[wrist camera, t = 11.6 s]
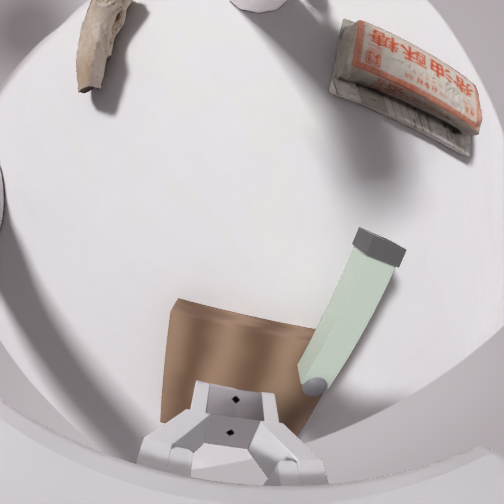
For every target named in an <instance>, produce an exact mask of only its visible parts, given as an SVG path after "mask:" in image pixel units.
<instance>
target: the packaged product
mask: <svg viewBox="0 0 504 504" xmlns="http://www.w3.org/2000/svg"><path fill="white" fill-rule="evenodd" d="M329 93H330V94H332V95H335V96H338V97H341V98H344V99H347V100H350V101H353V102H356V103H358V104H361V105H363V106H365V107H367V108H369V109H372V110H374V111H376V112H378V113H380V114H382V115H384V116H387V117H389V118H391V119H393V120H396V121H398V122H400V123H402V124H404V125H406V126H408V127H410V128H412V129H414V130H416V131H418V132H420V133H422V134H423V135H425V136H427V137H429V138H431V139H433V140H435V141H437V142H439V143H441V144H443V145H445V146H447V147H449V148H450V149H452V150H454V151H456V152H458V153H459V154H462V155H465V156H469V157H470V150H471V138H472V135H478V134H479V130H480V125H481V122H482V111H481V109H480V102H479V97H478V96H479V94H478V91H477V88H476V86H475V85H474V84H473V83H472V82H471V81H469V80H468V79H467V78H466V77H464V76H463V75H462V74H460V73H459V72H457V71H456V70H454V69H453V68H452V67H450V66H449V65H447V64H445V63H444V62H442V61H441V60H439V59H437V58H436V57H434V56H433V55H431V54H429V53H427V52H426V51H424V50H422V49H421V48H419V47H417V46H415V45H413V44H411V43H410V42H408V41H406V40H404V39H402V38H400V37H398V36H396V35H394V34H392V33H390V32H387V31H385V30H383V29H381V28H379V27H376V26H374V25H372V24H370V23H367V22H365V21H361V20H359V21H357V22H356V23H355V22H352V21H349V20H346V19H343V21H342V26H341V31H340V35H339V40H338V45H337V54H336V61H335V65H334V69H333V74H332V78H331V82H330V87H329Z"/></svg>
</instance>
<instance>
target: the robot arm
mask: <svg viewBox="0 0 504 504" xmlns="http://www.w3.org/2000/svg"><path fill="white" fill-rule="evenodd" d="M3 205H4V194H3V182H2V176H1V171H0V227H1V222H2V216H3ZM203 443H208V444H215V445H223V446H230V447H236V448H244V449H248V451H249V452H250V454H251V455H252V457H253V458H254V460H255V461H256V462H257V464H258V465H259V466H260V468H261V469H262V471H263V472H264V473H265V475H266V476H267V477H268V479H267V481H266V482H265V483H264V485H263V486H261V485H245V484H234V483H224V482H217V481H209V480H203V479H197V478H192V477H190V475H191V467H192V458H193V453H194V452H195V451H196V450H197V449H198V448H199V447H200V446H202V445H203ZM0 504H504V457H503V456H502V455H501V454H499V453H498V452H496V451H494V450H492V449H490V448H488V447H485V446H478V447H475V448H473V449H470V450H468V451H466V452H463V453H461V454H458V455H455V456H453V457H450V458H447V459H444V460H442V461H439V462H436V463H433V464H429V465H426V466H423V467H419V468H416V469H412V470H408V471H404V472H400V473H396V474H392V475H387V476H382V477H377V478H372V479H366V480H359V481H352V482H344V483H335V484H329V483H328V480H327V476H326V472H325V469H324V465H323V461H322V459H321V458H319V457H318V456H317V455H316V454H315V453H314V452H313V451H312V450H311V449H310V448H308V447H307V446H306V445H305V444H304V443H303V442H302V441H301V440H300V439H299V438H298V437H297V436H296V435H295V434H294V433H293V432H291V431H290V430H289V429H288V428H287V427H286V426H285V425H284V424H283V423H279V418H278V412H277V406H276V399H275V395H274V393H266V392H256V391H249V390H242V389H236V388H230V387H225V386H220V385H216V384H211V383H210V385H209V383H205V382H201V381H196V383H195V388H194V393H193V398H192V403H191V409H190V410H189V409H186V410H184V411H183V412H181V413H180V414H179V415H177V416H176V417H174V418H173V419H171V420H170V421H168V422H167V423H165V424H164V425H162V426H161V427H159V428H158V429H156V430H155V431H153V432H152V433H150V434H149V435H147V436H145V437H144V439H143V442H142V445H141V448H140V451H139V454H138V457H137V461H136V464H135V463H131V462H128V461H125V460H122V459H119V458H116V457H114V456H111V455H108V454H105V453H103V452H100V451H98V450H95V449H93V448H90V447H88V446H86V445H83V444H81V443H79V442H76V441H74V440H72V439H70V438H68V437H66V436H64V435H62V434H60V433H57V432H56V431H54V430H52V429H50V428H48V427H46V426H44V425H43V424H41V423H39V422H37V421H36V420H34V419H32V418H30V417H29V416H27V415H25V414H24V413H22V412H21V411H19V410H17V409H16V408H14V407H13V406H11V405H10V404H8V403H7V402H5V401H4V400H2V399H1V398H0Z"/></svg>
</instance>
